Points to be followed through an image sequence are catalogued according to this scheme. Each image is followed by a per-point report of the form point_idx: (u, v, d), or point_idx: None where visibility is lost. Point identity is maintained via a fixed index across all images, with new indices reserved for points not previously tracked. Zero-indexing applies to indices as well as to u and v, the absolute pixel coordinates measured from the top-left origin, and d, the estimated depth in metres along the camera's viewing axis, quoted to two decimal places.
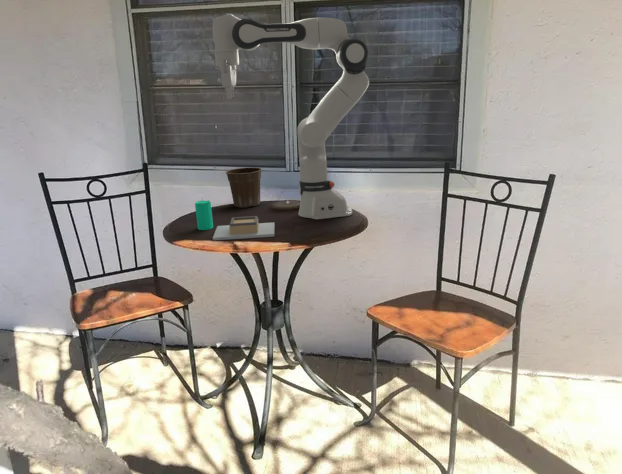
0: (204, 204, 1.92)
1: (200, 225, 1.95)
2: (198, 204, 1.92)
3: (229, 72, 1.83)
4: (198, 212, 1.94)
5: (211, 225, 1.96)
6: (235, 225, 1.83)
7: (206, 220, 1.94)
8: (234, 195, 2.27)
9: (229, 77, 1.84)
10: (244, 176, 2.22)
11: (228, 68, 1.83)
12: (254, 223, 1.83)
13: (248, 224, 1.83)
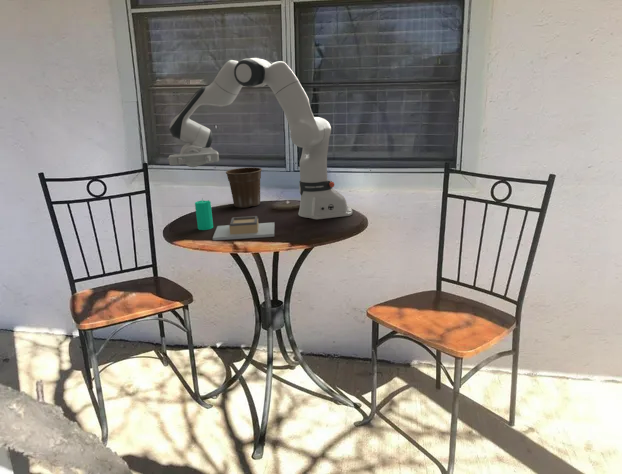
0: (204, 204, 1.92)
1: (200, 225, 1.95)
2: (198, 204, 1.92)
3: (169, 156, 2.07)
4: (198, 212, 1.94)
5: (211, 225, 1.96)
6: (235, 225, 1.83)
7: (206, 220, 1.94)
8: (234, 195, 2.27)
9: None
10: (244, 176, 2.22)
11: None
12: (254, 223, 1.83)
13: (248, 224, 1.83)
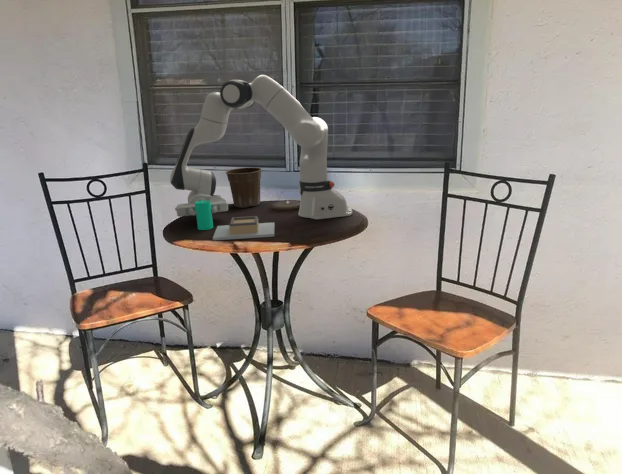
0: (204, 204, 1.92)
1: (200, 225, 1.95)
2: (198, 204, 1.92)
3: None
4: (198, 212, 1.94)
5: (211, 225, 1.96)
6: (235, 225, 1.83)
7: (206, 219, 1.94)
8: (234, 195, 2.27)
9: (176, 208, 1.99)
10: (244, 176, 2.22)
11: None
12: (254, 223, 1.83)
13: (248, 224, 1.83)
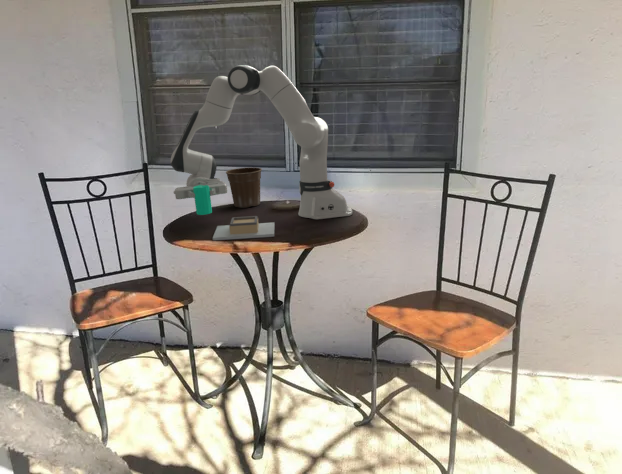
0: (202, 188, 1.91)
1: (199, 210, 1.93)
2: (196, 188, 1.91)
3: (175, 189, 1.99)
4: (196, 197, 1.92)
5: (210, 210, 1.95)
6: (235, 225, 1.83)
7: (204, 204, 1.92)
8: (234, 195, 2.27)
9: None
10: (244, 176, 2.22)
11: None
12: (254, 223, 1.83)
13: (248, 224, 1.83)
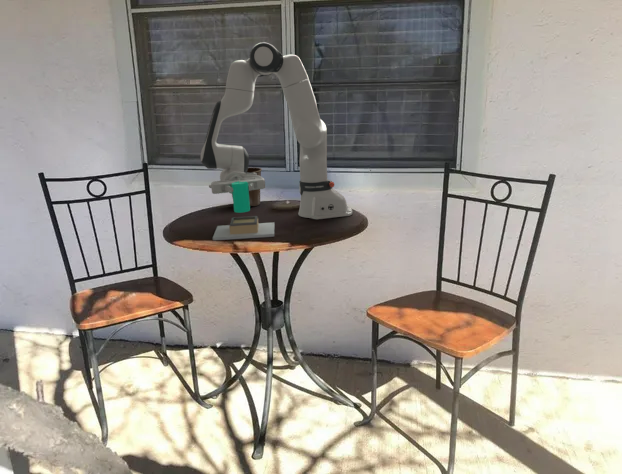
0: (242, 185, 1.81)
1: (237, 207, 1.84)
2: (235, 185, 1.81)
3: (211, 183, 1.89)
4: (235, 193, 1.82)
5: (248, 207, 1.85)
6: (235, 225, 1.83)
7: (243, 201, 1.83)
8: None
9: None
10: None
11: None
12: (254, 223, 1.83)
13: (248, 224, 1.83)
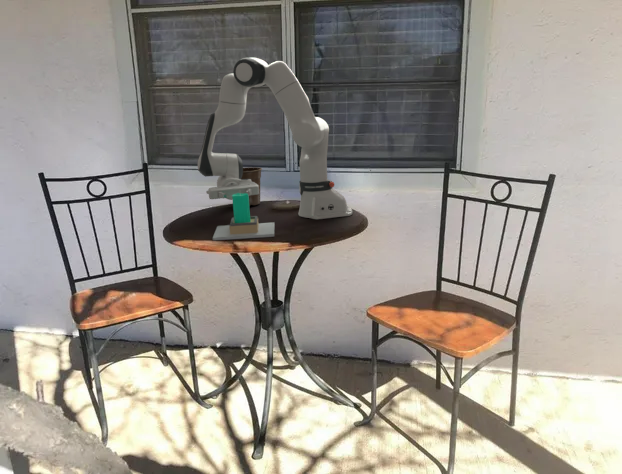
0: (242, 197, 1.83)
1: (237, 219, 1.85)
2: (236, 197, 1.83)
3: (208, 189, 2.02)
4: (236, 205, 1.84)
5: (249, 219, 1.86)
6: (235, 225, 1.83)
7: (244, 213, 1.84)
8: None
9: (208, 191, 2.00)
10: (244, 174, 2.22)
11: None
12: (254, 223, 1.83)
13: (248, 224, 1.83)
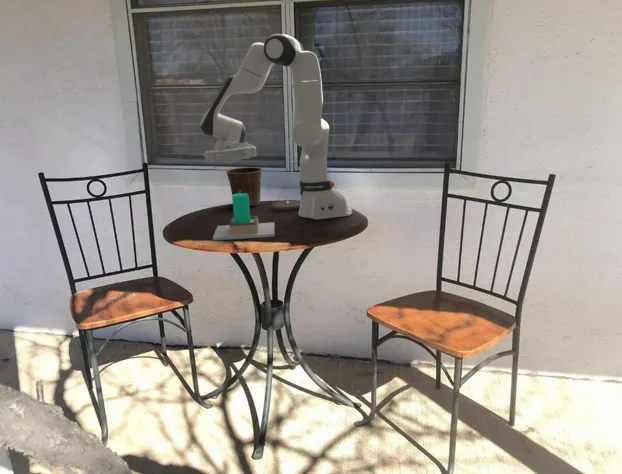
0: (242, 197, 1.83)
1: (237, 219, 1.85)
2: (236, 197, 1.83)
3: None
4: (236, 205, 1.84)
5: (249, 219, 1.86)
6: (235, 225, 1.83)
7: (244, 213, 1.84)
8: None
9: None
10: (244, 176, 2.22)
11: None
12: (254, 223, 1.83)
13: (248, 224, 1.83)
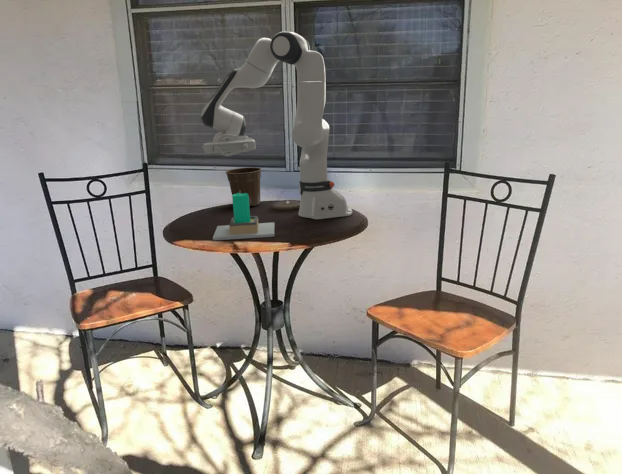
0: (242, 197, 1.83)
1: (237, 219, 1.85)
2: (236, 197, 1.83)
3: None
4: (236, 205, 1.84)
5: (249, 219, 1.86)
6: (235, 225, 1.83)
7: (244, 213, 1.84)
8: None
9: None
10: (244, 176, 2.22)
11: None
12: (254, 223, 1.83)
13: (248, 224, 1.83)
